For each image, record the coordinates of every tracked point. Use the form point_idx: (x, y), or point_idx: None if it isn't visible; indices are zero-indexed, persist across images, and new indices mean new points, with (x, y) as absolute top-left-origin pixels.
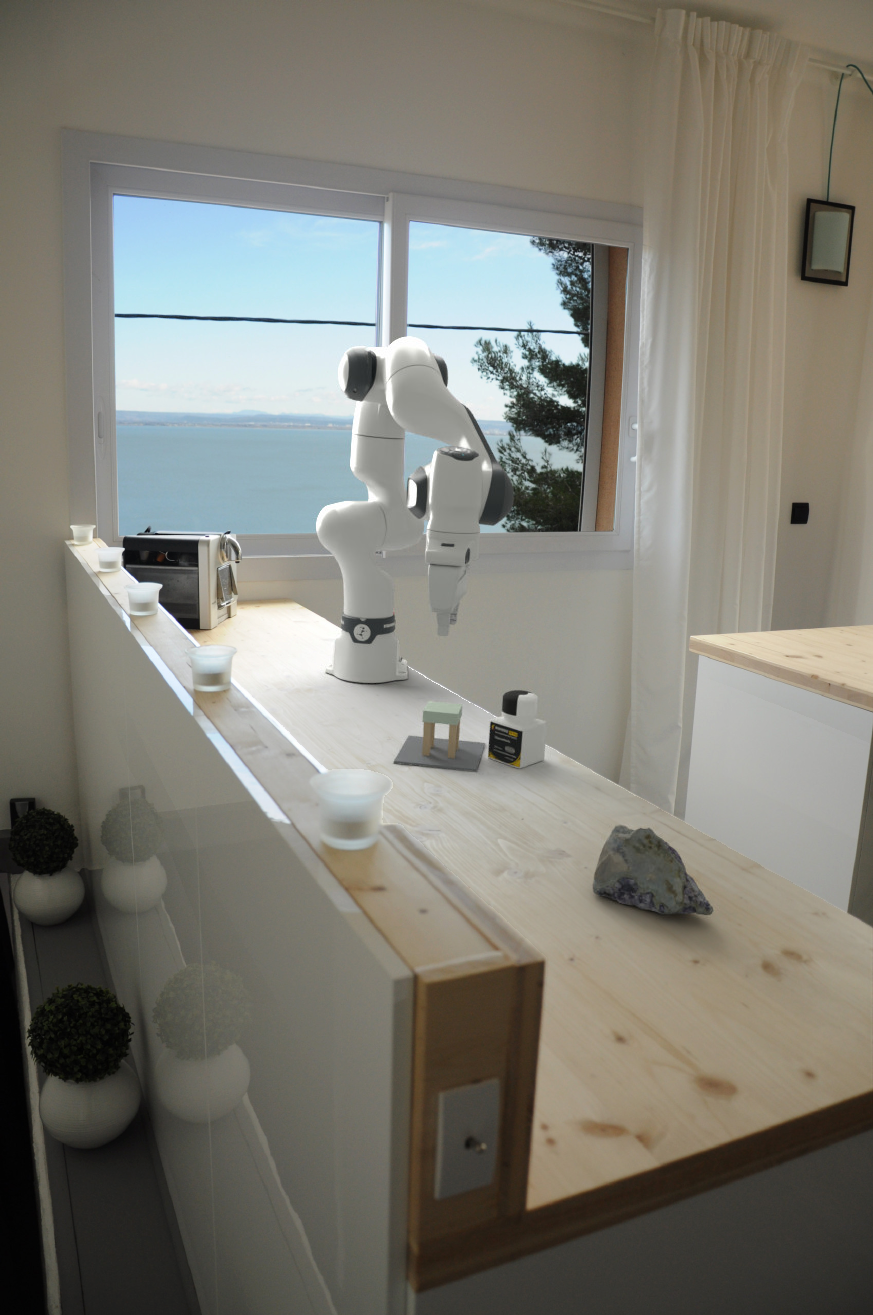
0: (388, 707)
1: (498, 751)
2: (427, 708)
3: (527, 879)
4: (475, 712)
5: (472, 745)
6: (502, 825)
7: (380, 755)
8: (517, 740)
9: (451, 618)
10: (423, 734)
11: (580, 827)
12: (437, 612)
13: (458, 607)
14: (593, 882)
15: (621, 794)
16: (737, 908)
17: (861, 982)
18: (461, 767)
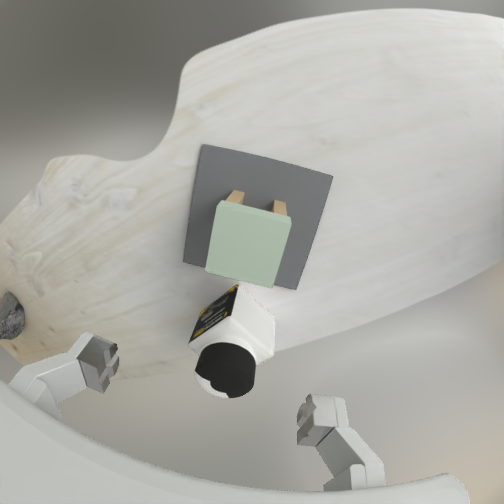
0: (469, 169)
1: (221, 301)
2: (234, 216)
3: (9, 260)
4: (433, 292)
5: (283, 271)
6: (60, 261)
7: (239, 123)
8: (195, 331)
9: (305, 423)
10: (228, 197)
11: (78, 320)
12: (14, 379)
13: (332, 468)
14: (4, 295)
15: (154, 373)
16: (32, 350)
17: (13, 356)
18: (186, 243)
